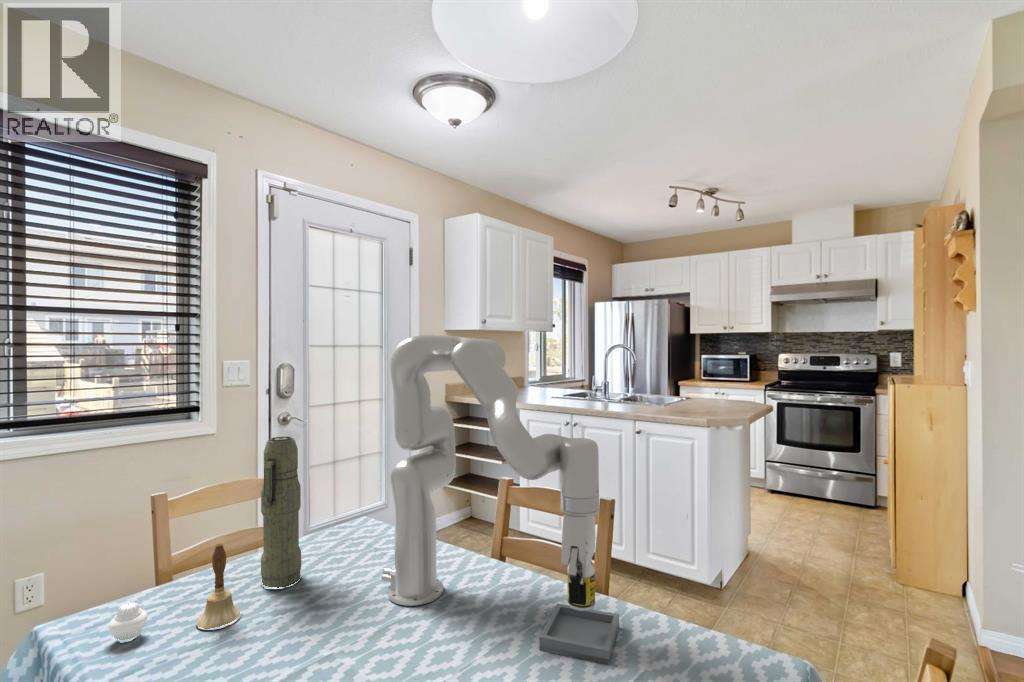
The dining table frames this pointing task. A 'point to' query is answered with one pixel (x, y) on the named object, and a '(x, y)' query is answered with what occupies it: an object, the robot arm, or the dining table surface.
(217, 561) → the hand bell
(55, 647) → the dining table surface
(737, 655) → the dining table surface
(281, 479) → the thermos
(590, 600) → the supplement bottle
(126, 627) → the white tiered dome
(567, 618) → the tray
